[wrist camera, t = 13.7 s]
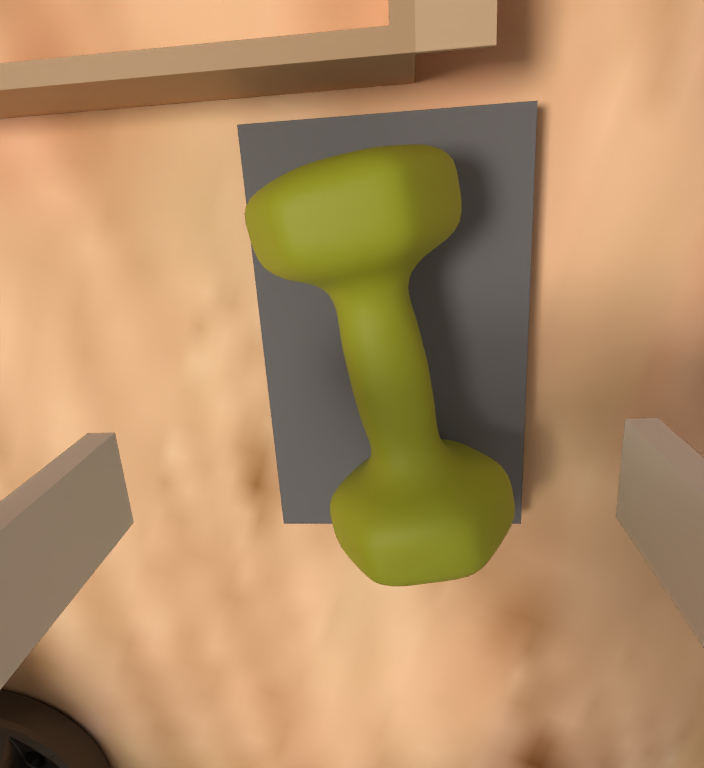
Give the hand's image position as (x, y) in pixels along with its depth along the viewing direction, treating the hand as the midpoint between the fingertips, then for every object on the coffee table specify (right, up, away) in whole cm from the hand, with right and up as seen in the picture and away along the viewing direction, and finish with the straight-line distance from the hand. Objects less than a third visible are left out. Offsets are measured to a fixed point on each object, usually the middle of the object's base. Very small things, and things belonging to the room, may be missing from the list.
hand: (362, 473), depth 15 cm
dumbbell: (+2, +4, +11) cm, 12 cm away
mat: (+2, +5, +12) cm, 14 cm away
